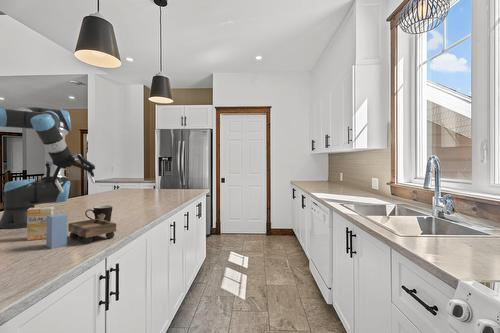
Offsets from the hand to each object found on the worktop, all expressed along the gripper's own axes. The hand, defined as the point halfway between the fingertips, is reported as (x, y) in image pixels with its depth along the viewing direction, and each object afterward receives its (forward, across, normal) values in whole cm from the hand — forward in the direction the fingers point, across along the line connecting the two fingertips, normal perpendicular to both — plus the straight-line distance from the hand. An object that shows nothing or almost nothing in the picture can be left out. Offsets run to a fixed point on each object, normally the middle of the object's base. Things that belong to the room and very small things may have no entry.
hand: (78, 187), depth 125 cm
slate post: (+4, -9, -32) cm, 34 cm away
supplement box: (+8, -18, -18) cm, 27 cm away
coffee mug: (+22, +2, -7) cm, 23 cm away
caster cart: (+11, +1, -28) cm, 30 cm away
